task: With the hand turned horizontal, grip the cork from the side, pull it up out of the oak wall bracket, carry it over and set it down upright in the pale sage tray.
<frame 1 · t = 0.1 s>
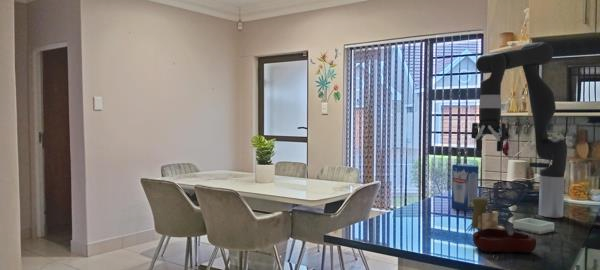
hand: (489, 150, 177), 29 cm above the kitchen counter, tool pointing down, fingers open, 8 cm apart
tray: (533, 229, 176), on the kitchen counter
cork: (479, 226, 181), on the kitchen counter
bracket: (492, 217, 176), on the kitchen counter
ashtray: (499, 249, 149), on the kitchen counter
milk carton: (464, 209, 216), on the kitchen counter
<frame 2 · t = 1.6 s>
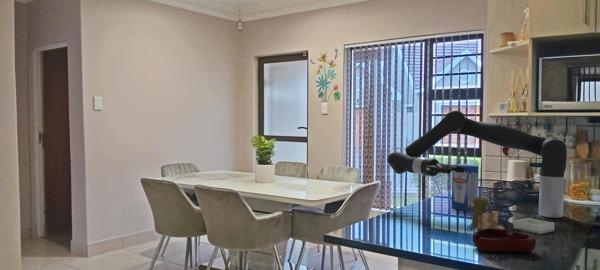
hand: (457, 170, 189), 20 cm above the kitchen counter, tool horizontal, fingers open, 8 cm apart
nothing on the kitchen counter moved.
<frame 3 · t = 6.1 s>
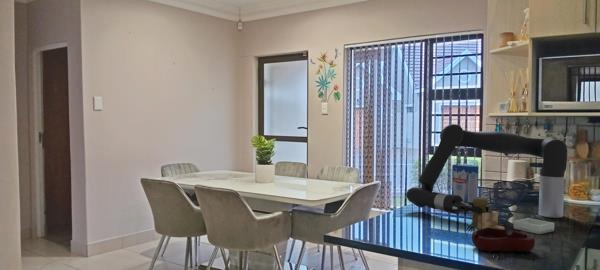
hand: (485, 210, 179), 7 cm above the kitchen counter, tool horizontal, fingers closed on cork, 4 cm apart
cork: (479, 226, 181), on the kitchen counter, touching gripper
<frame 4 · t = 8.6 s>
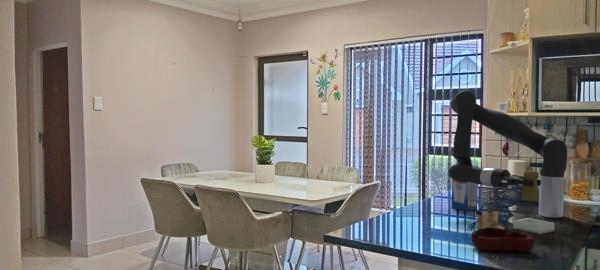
hand: (536, 183, 174), 18 cm above the kitchen counter, tool horizontal, fingers closed on cork, 4 cm apart
cork: (530, 200, 176), point 11 cm above the kitchen counter, touching gripper
when the fingers open (9 cm above the kitchen counter, at t = 11.0 s): cork moves 1 cm, resting on tray.
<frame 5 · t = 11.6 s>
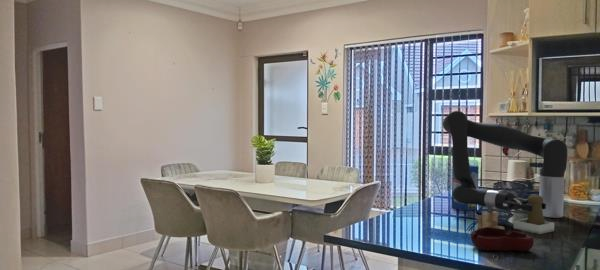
hand: (539, 207, 174), 9 cm above the kitchen counter, tool horizontal, fingers open, 8 cm apart
cork: (535, 225, 177), point 2 cm above the kitchen counter, touching gripper, tray
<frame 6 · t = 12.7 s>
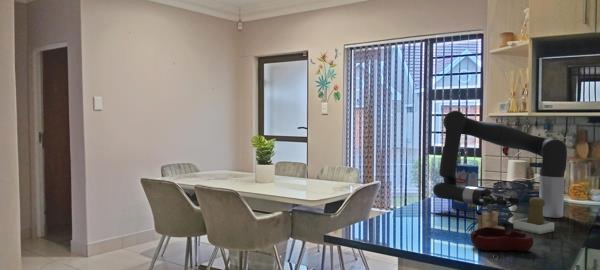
hand: (513, 202, 183), 9 cm above the kitchen counter, tool horizontal, fingers open, 8 cm apart
cork: (534, 226, 177), point 1 cm above the kitchen counter, touching tray
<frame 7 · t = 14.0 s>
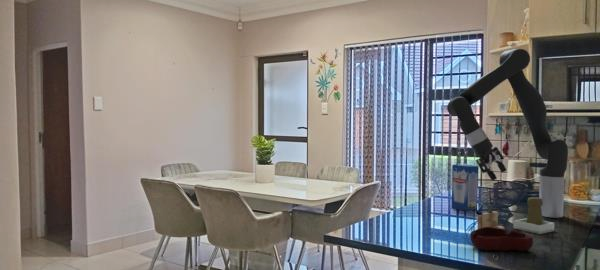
hand: (499, 175, 192), 18 cm above the kitchen counter, tool tilted 30°, fingers open, 8 cm apart
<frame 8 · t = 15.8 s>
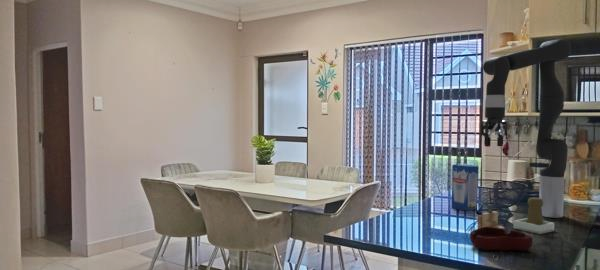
hand: (493, 146, 192), 30 cm above the kitchen counter, tool pointing down, fingers open, 8 cm apart
at the end: cork inside the target area on the tray (1.2 cm from its centre), point 0.6 cm above the tray's base; cork tilted 0°; the gripper is holding nothing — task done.
